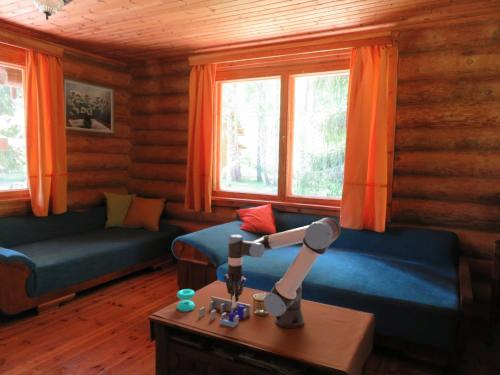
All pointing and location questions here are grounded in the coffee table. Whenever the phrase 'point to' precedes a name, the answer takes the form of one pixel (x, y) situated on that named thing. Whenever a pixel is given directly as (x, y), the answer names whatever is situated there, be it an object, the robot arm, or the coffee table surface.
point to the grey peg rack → (227, 306)
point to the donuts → (186, 304)
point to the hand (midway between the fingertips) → (234, 306)
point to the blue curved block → (237, 313)
